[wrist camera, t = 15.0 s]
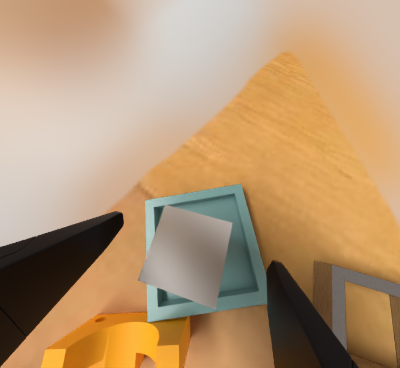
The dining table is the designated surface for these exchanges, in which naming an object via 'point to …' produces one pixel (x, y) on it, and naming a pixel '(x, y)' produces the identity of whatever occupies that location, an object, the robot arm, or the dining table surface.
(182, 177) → the dining table surface
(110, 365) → the pipe clamp
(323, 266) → the collar
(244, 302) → the tray
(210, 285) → the walnut peg
